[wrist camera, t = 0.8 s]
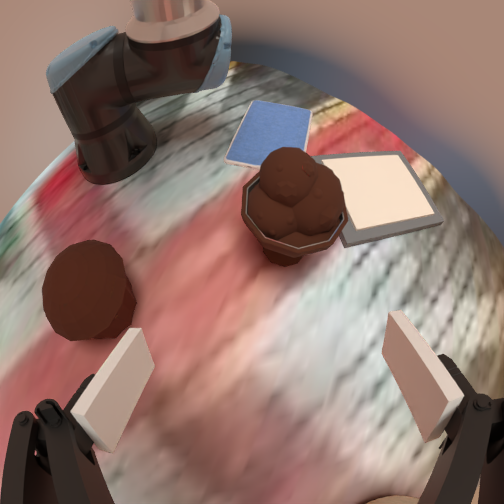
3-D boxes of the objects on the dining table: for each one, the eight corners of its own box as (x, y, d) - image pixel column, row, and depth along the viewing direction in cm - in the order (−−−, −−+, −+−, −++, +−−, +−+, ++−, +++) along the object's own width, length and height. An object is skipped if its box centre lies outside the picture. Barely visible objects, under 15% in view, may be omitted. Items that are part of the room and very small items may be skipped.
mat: (305, 161, 42) (306, 156, 41) (398, 155, 45) (400, 150, 44) (344, 247, 35) (347, 243, 34) (440, 224, 38) (444, 221, 37)
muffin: (115, 368, 28) (69, 358, 19) (59, 319, 30) (13, 295, 21) (163, 288, 32) (134, 251, 23) (103, 250, 34) (69, 210, 25)
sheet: (321, 162, 41) (321, 159, 40) (396, 156, 43) (397, 154, 42) (355, 231, 35) (356, 229, 35) (432, 215, 37) (434, 213, 37)
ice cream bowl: (240, 286, 33) (237, 215, 19) (244, 209, 38) (245, 121, 24) (327, 288, 33) (377, 223, 19) (320, 213, 38) (351, 131, 24)
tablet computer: (300, 181, 41) (301, 175, 40) (221, 165, 42) (221, 159, 41) (312, 115, 50) (313, 109, 48) (251, 103, 51) (251, 98, 49)
